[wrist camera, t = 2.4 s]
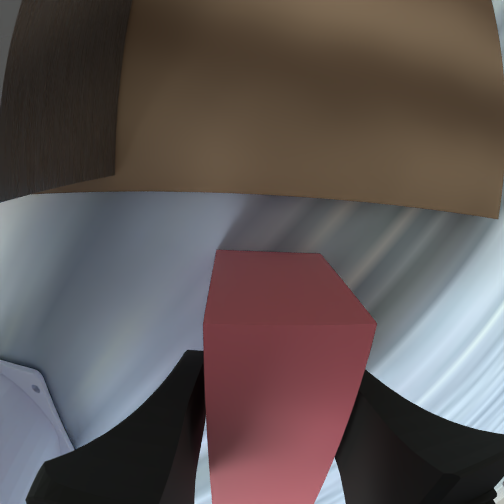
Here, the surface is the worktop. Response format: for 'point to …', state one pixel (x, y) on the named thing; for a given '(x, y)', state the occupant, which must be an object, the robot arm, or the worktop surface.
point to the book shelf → (313, 102)
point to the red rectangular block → (279, 373)
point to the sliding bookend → (59, 91)
